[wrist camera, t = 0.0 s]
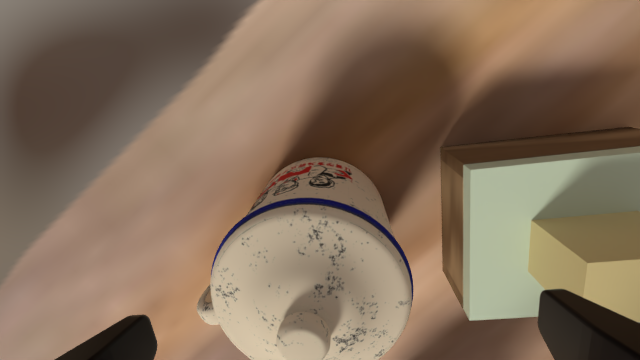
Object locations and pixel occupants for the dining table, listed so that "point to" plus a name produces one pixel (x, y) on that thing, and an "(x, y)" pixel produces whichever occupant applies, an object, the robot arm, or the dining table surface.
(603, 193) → the lid
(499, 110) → the dining table surface
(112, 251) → the dining table surface
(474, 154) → the box
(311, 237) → the teacup with lid
